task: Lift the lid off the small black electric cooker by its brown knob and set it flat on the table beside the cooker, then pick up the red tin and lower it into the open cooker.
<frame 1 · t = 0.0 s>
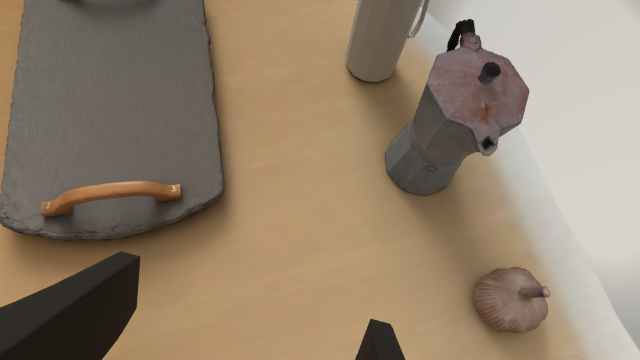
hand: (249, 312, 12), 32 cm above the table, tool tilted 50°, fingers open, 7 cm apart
moka pot: (415, 162, 53), on the table
water bottle: (374, 65, 59), on the table
serving tray: (124, 99, 52), on the table
garlic bulb: (500, 303, 46), on the table
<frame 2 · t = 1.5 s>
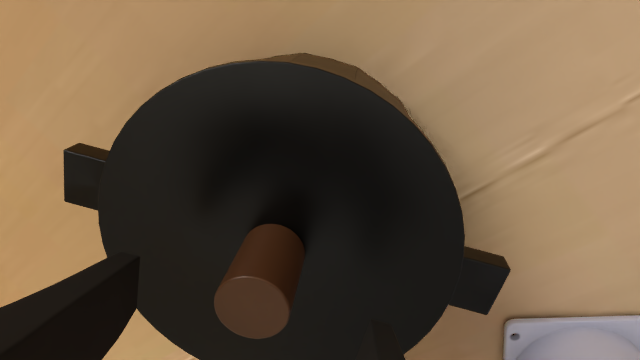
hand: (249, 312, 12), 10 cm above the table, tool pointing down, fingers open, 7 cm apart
cooker lid: (276, 243, 16), point 6 cm above the table, touching cooker
cooker: (301, 180, 22), on the table
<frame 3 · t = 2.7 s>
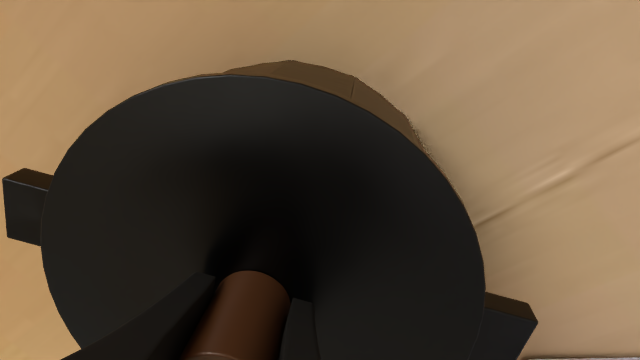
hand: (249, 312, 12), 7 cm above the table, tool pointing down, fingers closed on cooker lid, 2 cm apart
cooker lid: (257, 291, 13), point 6 cm above the table, touching cooker, gripper
cooker: (291, 204, 19), on the table
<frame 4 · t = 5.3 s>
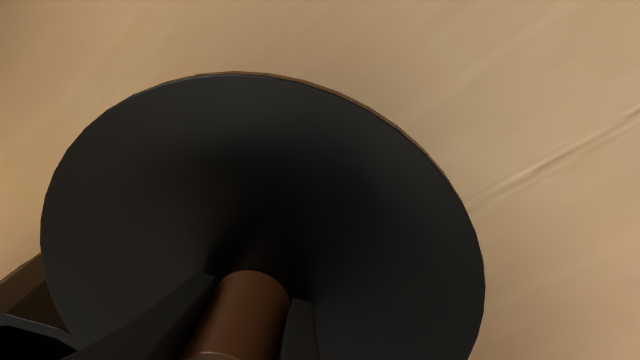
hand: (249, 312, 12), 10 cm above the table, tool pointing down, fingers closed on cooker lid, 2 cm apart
cooker lid: (257, 291, 13), point 9 cm above the table, touching gripper
cooker: (108, 327, 28), on the table
when the fingers open (2 cm above the table, at t = 7.6 s): cooker lid stays where it is, point 1 cm above the table.
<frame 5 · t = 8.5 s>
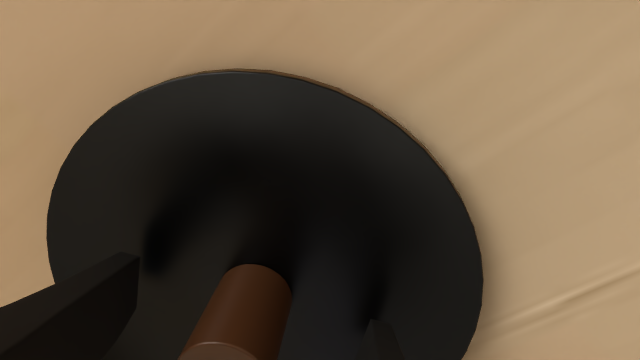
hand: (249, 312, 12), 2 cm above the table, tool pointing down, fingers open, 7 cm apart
cooker lid: (259, 285, 14), point 1 cm above the table
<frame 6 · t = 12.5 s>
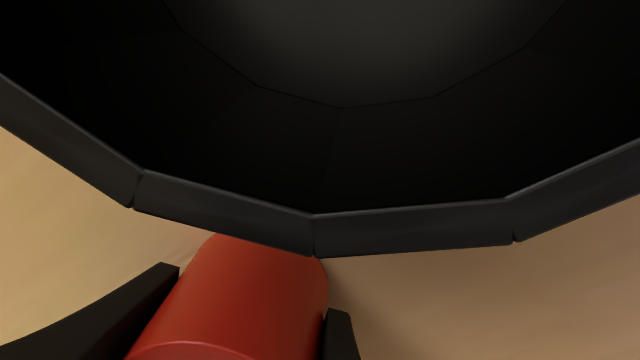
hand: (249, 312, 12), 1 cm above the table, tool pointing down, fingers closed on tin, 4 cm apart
tin: (260, 283, 14), on the table, touching gripper
when the fingers open (2 cm above the table, at t = 18.0 s): tin stays where it is, resting on cooker.
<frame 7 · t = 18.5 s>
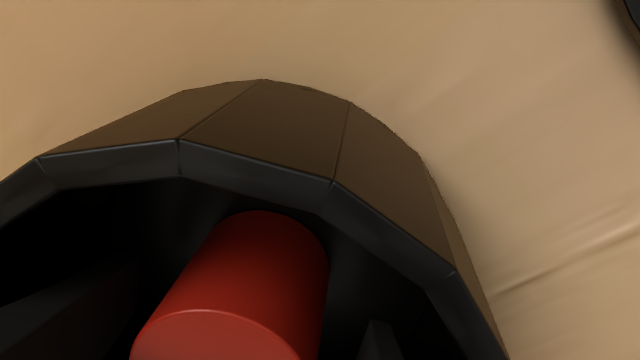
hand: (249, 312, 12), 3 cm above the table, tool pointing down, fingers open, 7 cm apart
tin: (265, 267, 15), resting on cooker
cooker: (269, 261, 15), on the table
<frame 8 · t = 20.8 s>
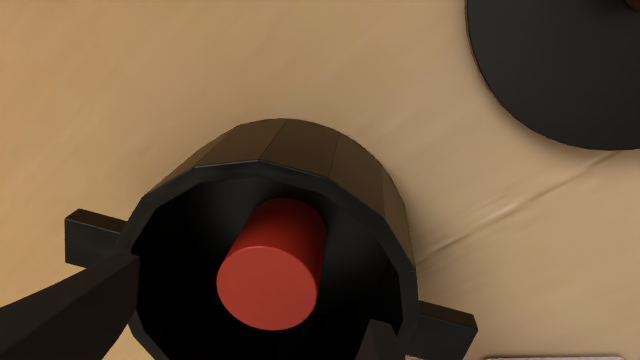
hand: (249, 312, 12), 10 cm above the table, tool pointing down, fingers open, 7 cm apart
tin: (286, 234, 23), resting on cooker
cooker: (288, 230, 23), on the table
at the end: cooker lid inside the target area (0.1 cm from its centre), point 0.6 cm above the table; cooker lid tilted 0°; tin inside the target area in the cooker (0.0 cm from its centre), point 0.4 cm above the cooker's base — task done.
